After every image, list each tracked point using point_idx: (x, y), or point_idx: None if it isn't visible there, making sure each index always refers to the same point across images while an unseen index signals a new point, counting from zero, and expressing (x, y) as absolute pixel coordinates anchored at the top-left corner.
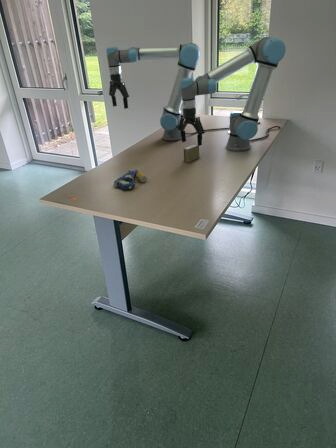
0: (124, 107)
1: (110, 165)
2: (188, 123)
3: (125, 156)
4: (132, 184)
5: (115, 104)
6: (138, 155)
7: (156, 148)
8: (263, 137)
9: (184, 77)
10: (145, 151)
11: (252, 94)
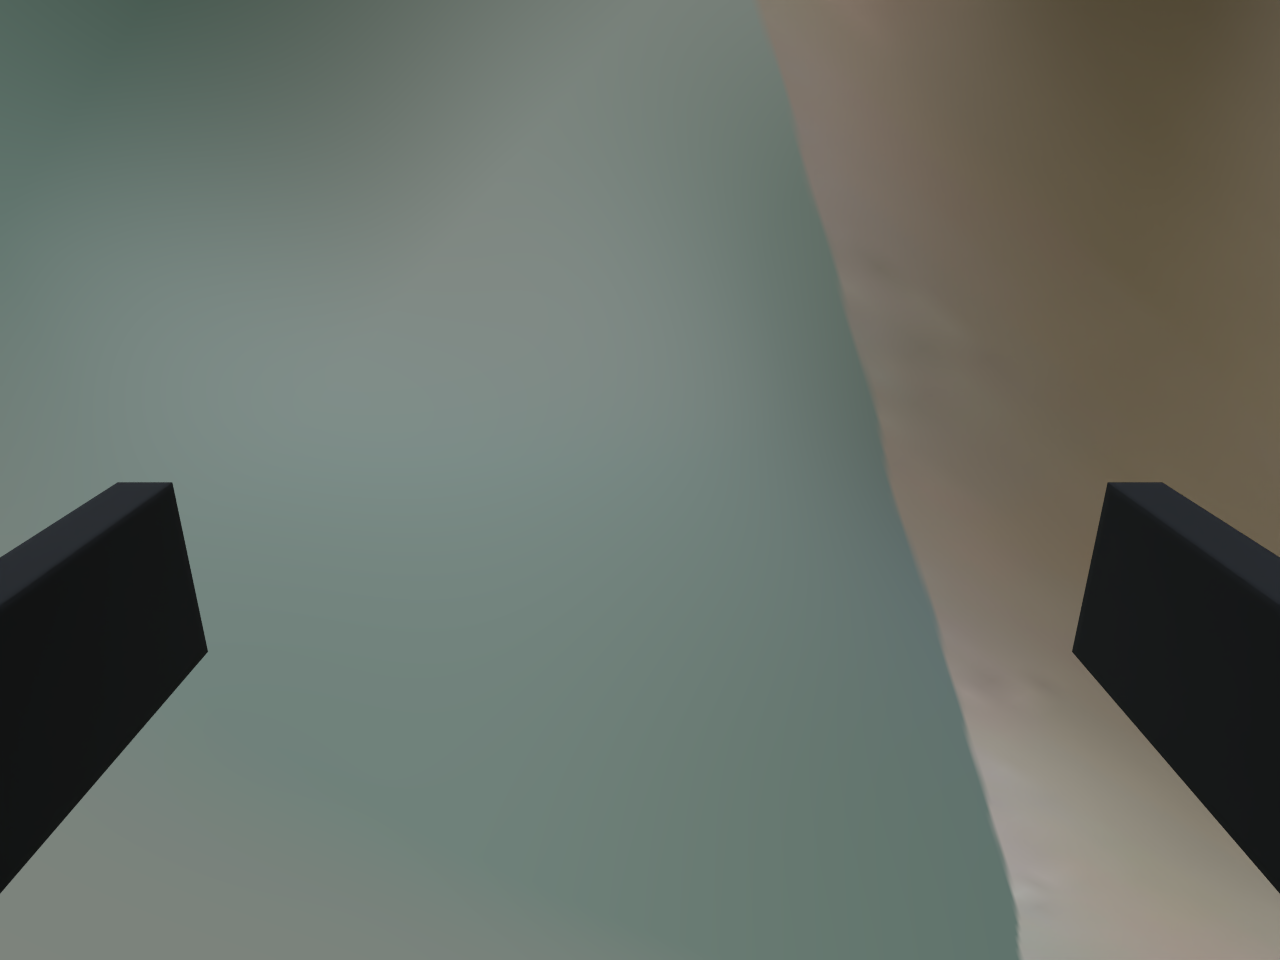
0: (1121, 682)
1: (1083, 832)
2: None
3: (1029, 583)
4: None
5: (143, 582)
6: (1176, 459)
7: (1250, 72)
8: None
9: None
10: (1163, 289)
11: None
